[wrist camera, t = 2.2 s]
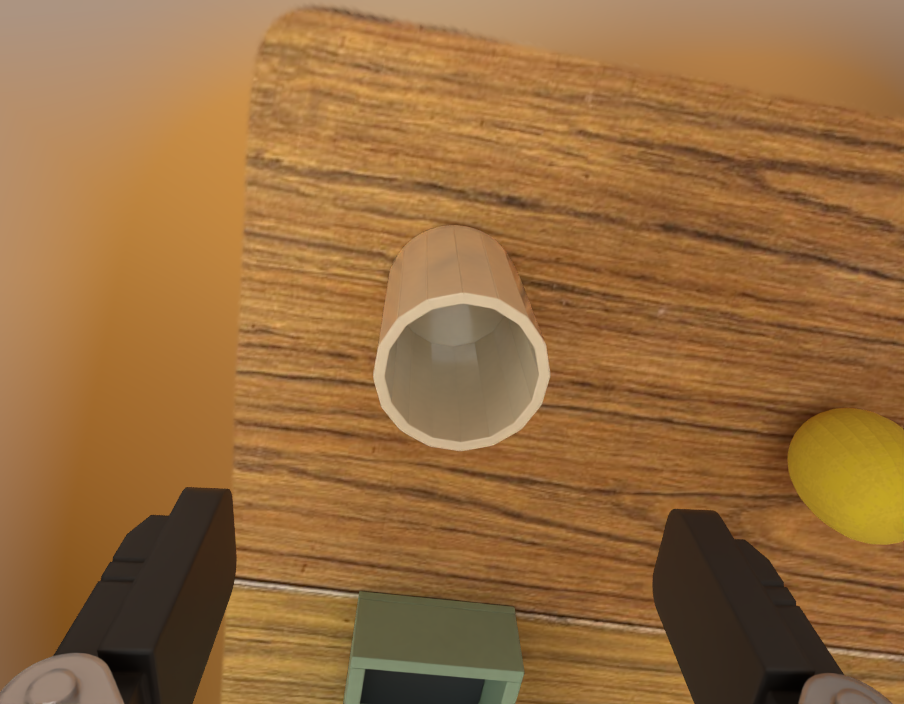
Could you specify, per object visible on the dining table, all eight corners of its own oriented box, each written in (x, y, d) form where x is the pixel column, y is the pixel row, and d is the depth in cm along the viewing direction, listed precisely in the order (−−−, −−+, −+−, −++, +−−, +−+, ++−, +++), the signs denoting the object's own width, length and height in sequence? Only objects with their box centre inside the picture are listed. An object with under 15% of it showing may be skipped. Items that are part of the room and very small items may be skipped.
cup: (363, 306, 32) (341, 399, 24) (434, 198, 30) (437, 259, 22) (469, 368, 33) (483, 476, 25) (543, 270, 31) (584, 353, 23)
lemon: (814, 487, 37) (908, 597, 30) (738, 443, 36) (818, 547, 28) (890, 411, 35) (1011, 509, 28) (814, 361, 34) (920, 450, 27)
